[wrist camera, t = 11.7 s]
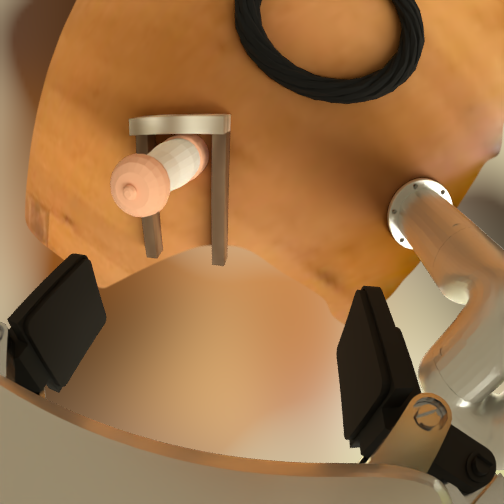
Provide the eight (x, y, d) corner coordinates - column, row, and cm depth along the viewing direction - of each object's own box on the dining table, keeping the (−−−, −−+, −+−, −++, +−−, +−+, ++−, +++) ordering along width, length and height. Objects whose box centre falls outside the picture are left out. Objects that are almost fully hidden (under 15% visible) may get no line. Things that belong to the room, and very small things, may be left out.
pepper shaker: (158, 163, 44) (90, 206, 28) (177, 124, 41) (111, 145, 24) (195, 185, 46) (145, 240, 29) (217, 146, 42) (172, 181, 26)
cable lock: (205, 67, 33) (270, -87, 18) (212, 69, 37) (272, -76, 22) (396, 136, 35) (446, -19, 20) (388, 132, 38) (436, -14, 23)
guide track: (230, 114, 40) (224, 116, 35) (227, 256, 51) (221, 272, 47) (144, 115, 40) (128, 118, 36) (153, 249, 52) (142, 263, 48)
